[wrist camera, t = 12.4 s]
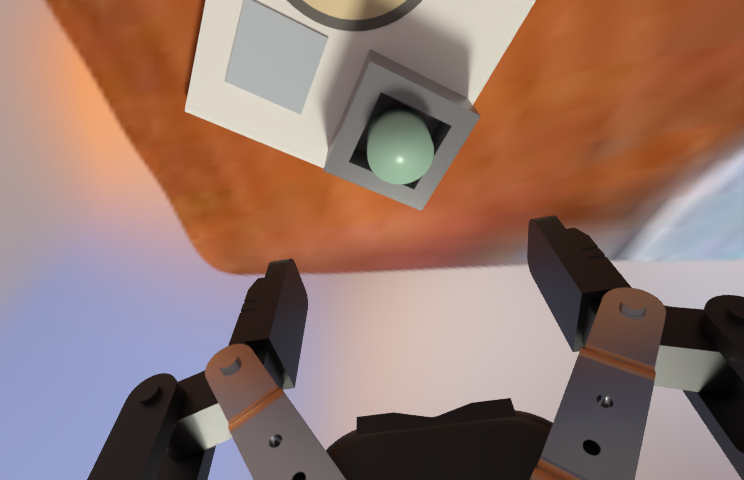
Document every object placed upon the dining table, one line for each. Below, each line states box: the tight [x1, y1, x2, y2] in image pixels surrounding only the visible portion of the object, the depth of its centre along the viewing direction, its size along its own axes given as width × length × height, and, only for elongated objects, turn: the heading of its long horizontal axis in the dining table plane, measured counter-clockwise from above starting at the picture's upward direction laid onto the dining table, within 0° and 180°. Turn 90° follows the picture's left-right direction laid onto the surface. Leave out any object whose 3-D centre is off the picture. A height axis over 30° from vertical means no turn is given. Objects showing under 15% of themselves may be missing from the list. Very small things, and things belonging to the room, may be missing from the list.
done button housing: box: [324, 49, 480, 211], centre depth 25 cm, size 7×7×4 cm
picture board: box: [185, 0, 536, 168], centre depth 23 cm, size 20×17×1 cm
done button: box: [367, 106, 434, 184], centre depth 24 cm, size 4×4×3 cm
